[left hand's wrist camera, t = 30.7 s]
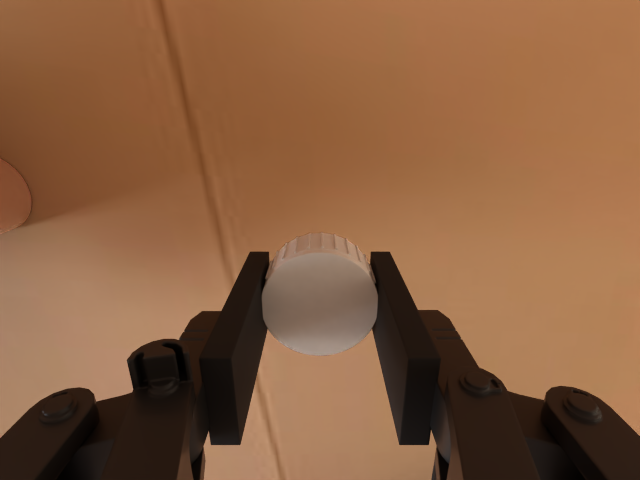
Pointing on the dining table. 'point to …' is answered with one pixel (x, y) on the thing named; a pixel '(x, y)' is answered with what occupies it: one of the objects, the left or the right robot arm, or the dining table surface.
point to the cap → (319, 295)
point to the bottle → (13, 198)
